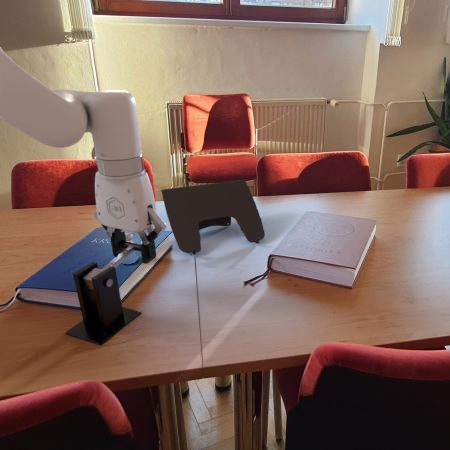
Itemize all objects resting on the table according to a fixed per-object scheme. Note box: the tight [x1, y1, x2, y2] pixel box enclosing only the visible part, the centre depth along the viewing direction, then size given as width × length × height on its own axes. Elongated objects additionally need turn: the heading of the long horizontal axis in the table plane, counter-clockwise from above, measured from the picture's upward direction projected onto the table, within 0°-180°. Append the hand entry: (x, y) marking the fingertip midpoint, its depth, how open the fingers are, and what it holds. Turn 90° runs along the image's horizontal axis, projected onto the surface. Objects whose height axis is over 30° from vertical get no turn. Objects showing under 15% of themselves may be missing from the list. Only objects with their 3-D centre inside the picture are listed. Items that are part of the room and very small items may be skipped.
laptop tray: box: [160, 179, 266, 258], centre depth 115 cm, size 23×23×9 cm
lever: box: [83, 240, 142, 290], centre depth 79 cm, size 12×6×2 cm, turn 158°
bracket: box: [64, 261, 143, 347], centre depth 77 cm, size 10×8×12 cm
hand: (134, 256), depth 84 cm, fingers closed on lever, 6 cm apart
